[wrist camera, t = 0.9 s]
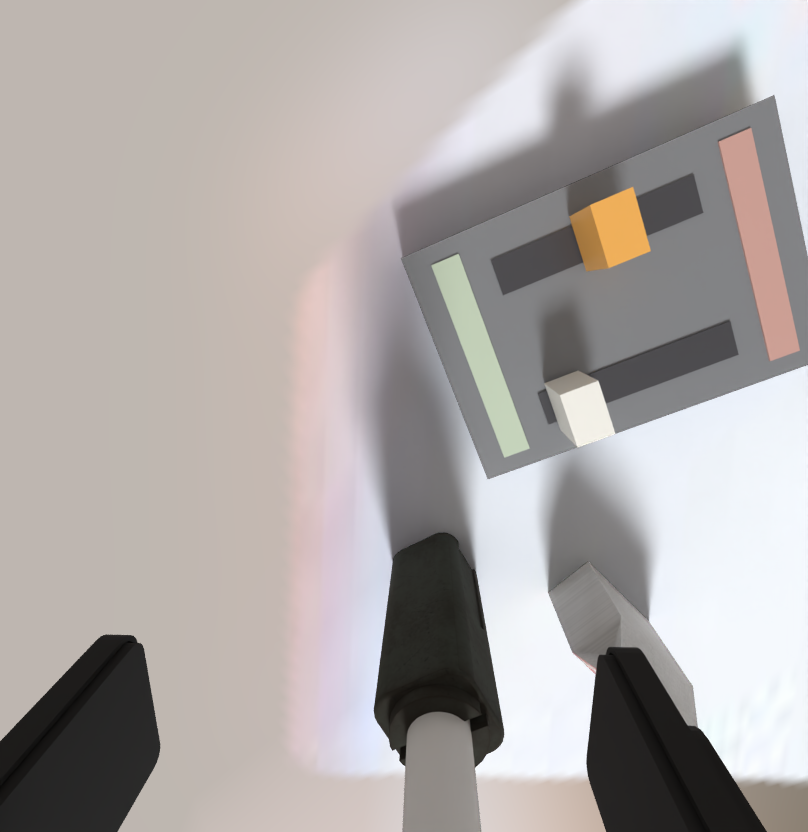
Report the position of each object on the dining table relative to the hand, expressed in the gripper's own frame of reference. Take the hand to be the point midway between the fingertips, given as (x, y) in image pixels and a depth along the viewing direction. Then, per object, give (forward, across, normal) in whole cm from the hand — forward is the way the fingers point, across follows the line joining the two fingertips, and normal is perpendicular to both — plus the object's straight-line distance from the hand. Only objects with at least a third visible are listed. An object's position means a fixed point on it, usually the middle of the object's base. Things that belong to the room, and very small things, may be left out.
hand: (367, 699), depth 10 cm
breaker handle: (+19, -10, -11) cm, 24 cm away
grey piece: (+23, -14, +14) cm, 30 cm away
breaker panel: (+23, -12, -7) cm, 26 cm away
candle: (+23, -2, +11) cm, 26 cm away
